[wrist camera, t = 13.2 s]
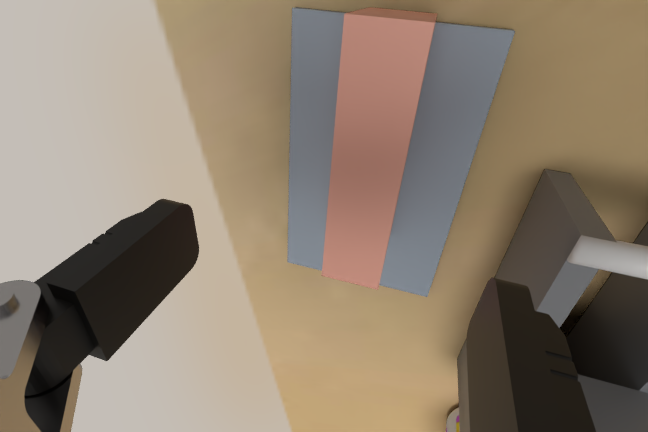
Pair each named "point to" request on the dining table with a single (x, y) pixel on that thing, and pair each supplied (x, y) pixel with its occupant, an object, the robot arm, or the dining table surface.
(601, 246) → the dispenser
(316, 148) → the rubber mat
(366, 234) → the pink rectangular block
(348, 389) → the dining table surface
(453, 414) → the supplement bottle
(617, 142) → the dining table surface
